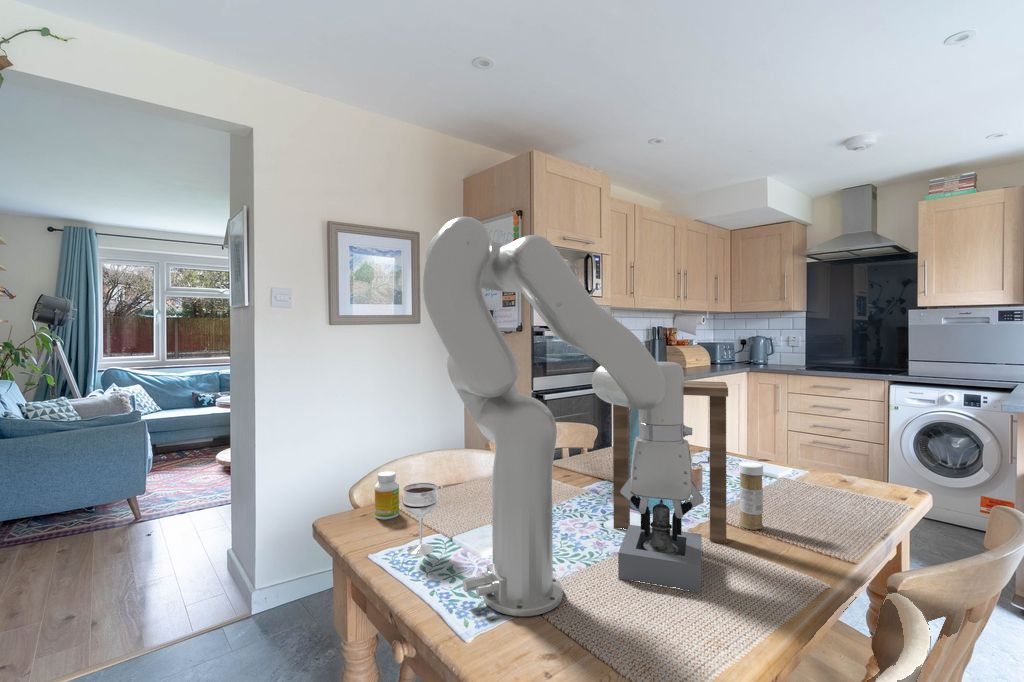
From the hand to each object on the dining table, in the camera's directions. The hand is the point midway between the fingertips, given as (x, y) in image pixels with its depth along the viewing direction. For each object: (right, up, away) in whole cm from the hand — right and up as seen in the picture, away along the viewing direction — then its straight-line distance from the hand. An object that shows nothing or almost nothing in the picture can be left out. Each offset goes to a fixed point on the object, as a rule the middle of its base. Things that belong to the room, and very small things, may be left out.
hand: (661, 535), depth 86 cm
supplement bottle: (-55, -6, +26) cm, 61 cm away
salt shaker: (0, -6, 0) cm, 6 cm away
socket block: (0, -6, 0) cm, 6 cm away
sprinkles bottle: (+25, -6, +18) cm, 32 cm away
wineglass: (-44, -6, +8) cm, 45 cm away
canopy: (+5, -6, +11) cm, 13 cm away
